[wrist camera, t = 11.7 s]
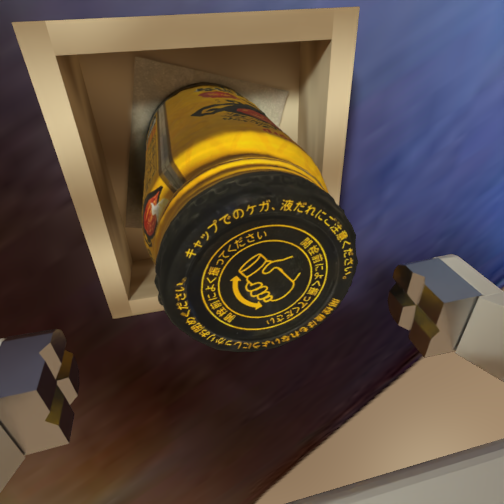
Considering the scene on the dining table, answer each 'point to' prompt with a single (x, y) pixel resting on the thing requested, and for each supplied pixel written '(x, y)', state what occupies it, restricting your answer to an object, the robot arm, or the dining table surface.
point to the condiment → (232, 211)
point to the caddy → (189, 56)
